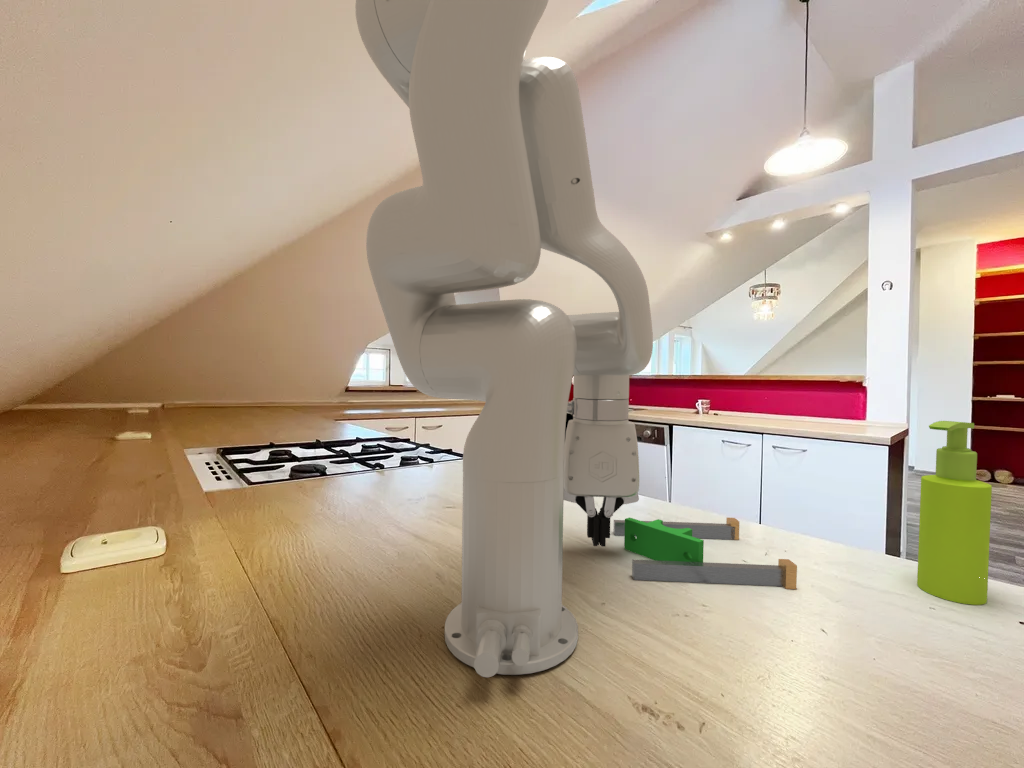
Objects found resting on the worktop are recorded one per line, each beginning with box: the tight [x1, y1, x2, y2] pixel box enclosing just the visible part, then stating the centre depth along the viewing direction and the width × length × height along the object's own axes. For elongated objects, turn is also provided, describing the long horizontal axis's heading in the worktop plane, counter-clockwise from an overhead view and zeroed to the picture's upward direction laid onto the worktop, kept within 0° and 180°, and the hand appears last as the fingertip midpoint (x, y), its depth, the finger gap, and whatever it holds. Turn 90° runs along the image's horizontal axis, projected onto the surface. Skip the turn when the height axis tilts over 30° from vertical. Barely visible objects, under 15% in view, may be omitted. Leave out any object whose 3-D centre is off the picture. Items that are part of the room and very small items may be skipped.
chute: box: [613, 517, 798, 590], centre depth 63 cm, size 18×19×3 cm
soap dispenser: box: [916, 420, 993, 606], centre depth 53 cm, size 6×7×20 cm
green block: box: [623, 517, 705, 562], centre depth 62 cm, size 11×4×5 cm, turn 39°
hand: (598, 542), depth 64 cm, fingers closed
